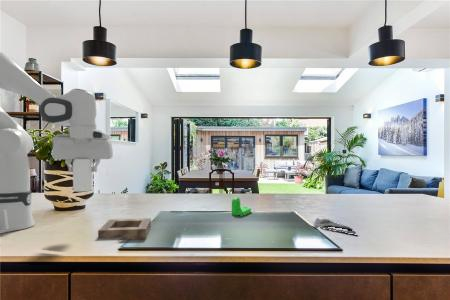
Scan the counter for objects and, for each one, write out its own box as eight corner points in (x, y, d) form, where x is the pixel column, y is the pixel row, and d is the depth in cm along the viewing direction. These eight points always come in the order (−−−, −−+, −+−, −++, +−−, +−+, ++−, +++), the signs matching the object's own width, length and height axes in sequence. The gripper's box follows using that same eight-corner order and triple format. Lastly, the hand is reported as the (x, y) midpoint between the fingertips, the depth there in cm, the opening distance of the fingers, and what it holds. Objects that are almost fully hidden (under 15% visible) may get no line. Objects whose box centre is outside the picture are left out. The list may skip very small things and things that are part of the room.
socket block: (98, 240, 101) (98, 230, 101) (109, 228, 117) (109, 219, 117) (146, 238, 104) (146, 228, 104) (150, 227, 119) (150, 218, 119)
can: (69, 191, 106) (68, 158, 105) (81, 188, 112) (81, 157, 112) (84, 192, 104) (84, 158, 104) (96, 189, 111) (96, 157, 110)
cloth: (304, 219, 136) (304, 215, 136) (333, 219, 136) (333, 214, 136) (327, 236, 110) (327, 230, 110) (363, 236, 110) (363, 230, 110)
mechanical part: (242, 216, 141) (242, 199, 141) (231, 214, 144) (231, 198, 144) (252, 211, 152) (252, 195, 152) (242, 210, 154) (242, 195, 154)
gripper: (48, 133, 103) (48, 172, 103) (109, 133, 106) (109, 172, 106) (56, 134, 110) (56, 171, 110) (113, 134, 112) (113, 171, 112)
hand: (83, 171), depth 108 cm, fingers closed on can, 6 cm apart
